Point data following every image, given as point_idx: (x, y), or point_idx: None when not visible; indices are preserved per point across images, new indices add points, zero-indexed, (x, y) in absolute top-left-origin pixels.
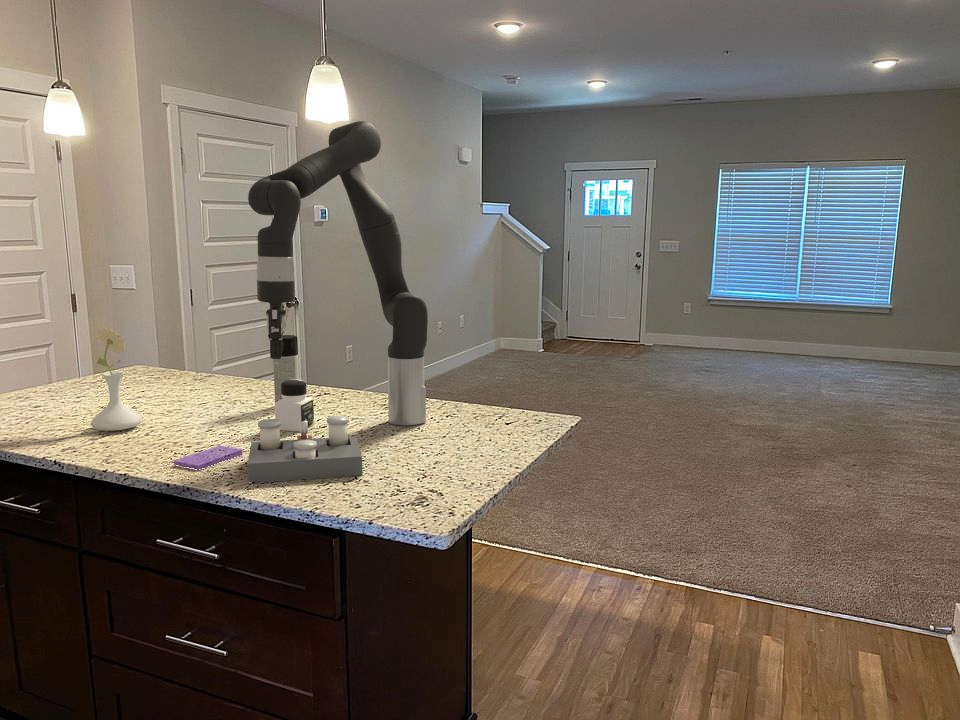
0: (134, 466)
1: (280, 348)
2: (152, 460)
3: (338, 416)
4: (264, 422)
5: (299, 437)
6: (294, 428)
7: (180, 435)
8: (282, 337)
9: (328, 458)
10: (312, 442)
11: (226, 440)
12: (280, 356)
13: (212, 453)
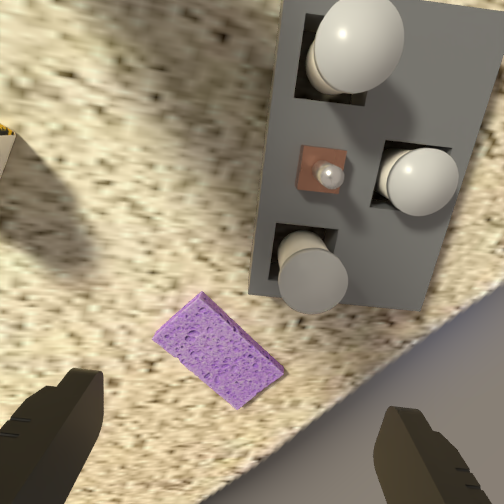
0: (219, 451)
1: (458, 481)
2: (192, 431)
3: (331, 35)
4: (317, 297)
5: (315, 185)
6: (4, 155)
7: (21, 397)
8: (20, 489)
9: (481, 122)
10: (428, 161)
11: (75, 317)
12: (421, 420)
13: (210, 351)
